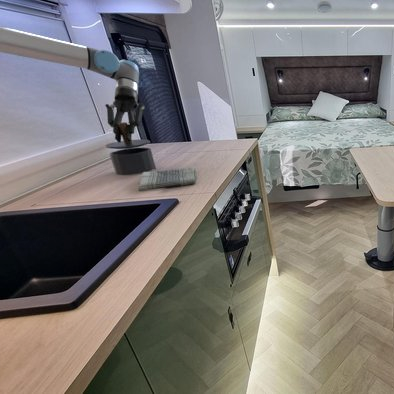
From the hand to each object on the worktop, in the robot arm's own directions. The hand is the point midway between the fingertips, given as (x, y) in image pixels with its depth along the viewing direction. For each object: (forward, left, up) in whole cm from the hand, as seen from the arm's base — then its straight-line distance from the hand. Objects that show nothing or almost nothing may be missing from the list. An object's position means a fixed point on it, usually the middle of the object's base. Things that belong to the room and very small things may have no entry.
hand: (123, 140), depth 113 cm
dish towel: (+19, -12, -14) cm, 27 cm away
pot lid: (-1, +4, -3) cm, 5 cm away
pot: (-1, +4, -14) cm, 14 cm away
